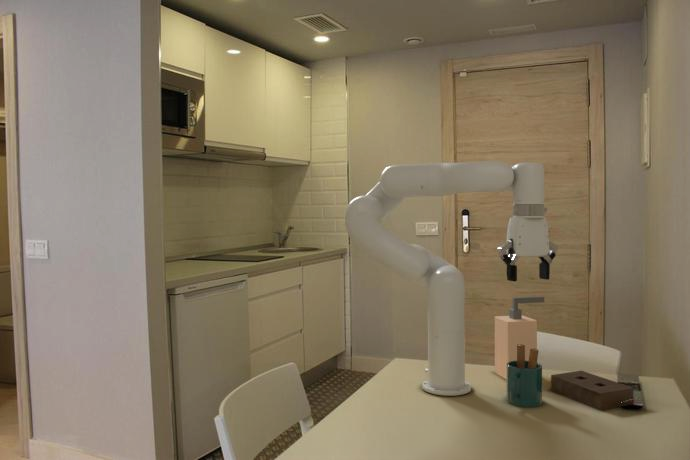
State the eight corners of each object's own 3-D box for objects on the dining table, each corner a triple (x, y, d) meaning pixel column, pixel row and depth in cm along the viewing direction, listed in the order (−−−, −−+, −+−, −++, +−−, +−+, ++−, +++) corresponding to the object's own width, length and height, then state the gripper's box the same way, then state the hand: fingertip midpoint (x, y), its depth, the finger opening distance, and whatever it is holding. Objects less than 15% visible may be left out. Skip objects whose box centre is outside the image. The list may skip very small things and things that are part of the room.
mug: (514, 393, 146) (514, 358, 146) (546, 400, 141) (546, 363, 141) (495, 406, 137) (495, 368, 137) (529, 413, 132) (529, 374, 132)
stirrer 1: (516, 396, 142) (516, 344, 142) (521, 396, 143) (521, 343, 142) (520, 398, 141) (520, 345, 140) (525, 397, 141) (525, 345, 141)
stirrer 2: (523, 399, 140) (530, 348, 137) (528, 398, 140) (534, 348, 138) (527, 401, 138) (534, 351, 136) (532, 401, 139) (538, 350, 136)
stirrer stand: (550, 390, 149) (550, 374, 149) (581, 385, 153) (581, 370, 153) (600, 410, 134) (600, 393, 134) (633, 404, 137) (633, 387, 137)
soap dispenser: (508, 381, 157) (508, 300, 156) (494, 372, 166) (494, 296, 165) (551, 378, 159) (551, 299, 159) (535, 369, 168) (535, 294, 167)
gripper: (547, 211, 151) (547, 276, 152) (490, 212, 146) (490, 279, 146) (566, 211, 144) (566, 279, 145) (507, 212, 139) (507, 283, 139)
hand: (528, 279), depth 146 cm, fingers open, 9 cm apart
